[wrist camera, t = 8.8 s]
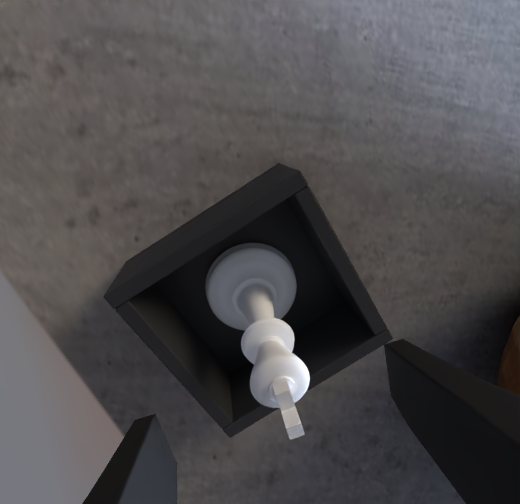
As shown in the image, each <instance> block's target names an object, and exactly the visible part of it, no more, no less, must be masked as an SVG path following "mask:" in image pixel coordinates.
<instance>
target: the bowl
mask: <svg viewBox="0 0 520 504" xmlns="http://www.w3.org/2000/svg"><path fill="white" fill-rule="evenodd" d="M497 386H499V387H501V388H503V389H506V390H508V391H510V392H512V393H515V394H517V395H520V316H519V317H518V319H517V321H516V322H515V324H514V326H513V328H512V330H511V333H510V335H509V338H508V341H507V343H506V346H505V349H504V351H503V354H502V359H501V365H500V371H499V376H498V385H497Z"/></svg>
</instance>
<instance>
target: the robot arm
mask: <svg viewBox="0 0 520 504" xmlns="http://www.w3.org/2000/svg"><path fill="white" fill-rule="evenodd" d="M384 347H385V355H386V362H387V370H388V377H389V385H390V392H391V397H392V399H393V400H394V402H395V404H396V406H397V407H398V409H399V411H400V413H401V414H402V416H403V418H404V419H405V421H406V423H407V424H408V426H409V428H410V429H411V430H412V432H413V433H414V434H415V436H416V437H417V439H418V440H419V441H420V443H421V444H422V445H423V447H424V448H425V449H426V451H427V452H428V453H429V455H430V456H431V457H432V459H433V460H434V461H435V463H436V464H437V465H438V467H439V468H440V469H441V471H442V472H443V473H444V475H445V476H446V477H447V479H448V480H449V481H450V483H451V484H452V485H453V487H454V488H455V489H456V491H457V492H458V493H459V495H460V496H461V497H462V499H463V500H464V502H465V503H466V504H520V395H517V394H515V393H512V392H510V391H508V390H506V389H503V388H501V387H499V386H496V385H494V384H492V383H490V382H487V381H485V380H483V379H481V378H479V377H477V376H474V375H472V374H470V373H468V372H466V371H464V370H462V369H460V368H458V367H456V366H454V365H452V364H450V363H448V362H446V361H444V360H442V359H440V358H438V357H436V356H434V355H433V354H431V353H429V352H427V351H425V350H423V349H421V348H419V347H417V346H415V345H414V344H412V343H410V342H408V341H406V340H404V339H401V340H398V341H394V342H391V343H388V344H385V345H384ZM83 504H177V462H176V460H175V458H174V455H173V453H172V451H171V449H170V446H169V444H168V442H167V440H166V437H165V435H164V433H163V430H162V428H161V426H160V424H159V421H158V419H157V417H156V415H155V414H153V415H150V416H147V417H143V418H140V419H137V420H135V421H134V422H133V424H132V426H131V427H130V429H129V430H128V432H127V434H126V435H125V437H124V439H123V440H122V442H121V444H120V445H119V447H118V448H117V450H116V452H115V453H114V455H113V457H112V458H111V460H110V461H109V463H108V465H107V467H106V468H105V470H104V471H103V473H102V474H101V476H100V477H99V479H98V481H97V482H96V484H95V485H94V487H93V488H92V490H91V492H90V493H89V495H88V496H87V498H86V499H85V501H84V502H83Z"/></svg>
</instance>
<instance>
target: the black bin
mask: <svg viewBox="0 0 520 504" xmlns="http://www.w3.org/2000/svg"><path fill="white" fill-rule="evenodd" d="M307 185H308V183H307V182H306V180H305V178H304V176H303V174H302V172H301V171H299V170H296V169H294V168H291V167H288V166H285V165H282V164H280V163H278V164H277V165H275V166H273V167H272V168H270V169H269V170H267V171H266V172H264V173H263V174H261V175H260V176H258V177H256V178H255V179H253V180H252V181H250V182H249V183H247V184H246V185H244V186H243V187H241V188H239V189H238V190H236V191H235V192H233V193H232V194H230V195H229V196H227V197H225V198H224V199H222V200H221V201H219V202H218V203H216V204H215V205H213V206H212V207H210V208H208V209H207V210H205V211H204V212H202V213H201V214H199V215H198V216H196V217H195V218H193V219H191V220H190V221H188V222H187V223H185V224H184V225H182V226H181V227H179V228H177V229H176V230H174V231H173V232H171V233H170V234H168V235H167V236H165V237H164V238H162V239H160V240H159V241H157V242H156V243H154V244H153V245H151V246H150V247H148V248H146V249H145V250H143V251H142V252H140V253H139V254H137V255H136V256H134V257H133V258H131V259H129V260H128V261H126V263H125V265H124V266H123V268H122V269H121V271H120V272H119V274H118V276H117V277H116V279H115V280H114V282H113V283H112V285H111V286H110V288H109V289H108V291H107V293H106V294H105V296H104V298H105V300H106V301H107V302H108V303H109V304H110V305H111V306H112V307H113V308H114V309H115V308H116V309H115V310H116V312H117V313H118V314H119V315H120V316H121V317H122V318H123V319H124V320H125V322H126V323H127V324H128V325H129V326H130V327H131V328H132V329H133V330H134V332H135V333H136V334H137V335H138V336H139V337H140V338H141V339H142V340H143V342H144V343H145V344H146V345H147V346H148V347H149V348H150V349H151V350H152V351H153V353H154V354H155V355H156V356H157V357H158V358H159V359H160V360H161V361H162V363H163V364H164V365H165V366H166V367H167V368H168V369H169V370H170V371H171V373H172V374H173V375H174V376H175V377H176V378H177V379H178V380H179V381H180V383H181V384H182V385H183V386H184V387H185V388H186V389H187V390H188V391H189V393H190V394H191V395H192V396H193V397H194V398H195V399H196V400H197V401H198V403H199V404H200V405H201V406H202V407H203V408H204V409H205V410H206V411H207V413H208V414H209V415H210V416H211V417H212V418H213V419H214V420H215V421H216V423H217V424H218V425H219V426H220V427H221V428H222V429H223V431H224V432H225V433H226V434H227V435H228V436H229V437H232V436H234V435H235V434H237V433H239V432H240V431H242V430H244V429H245V428H247V427H249V426H250V425H252V424H254V423H255V422H257V421H259V420H260V419H262V418H263V417H265V416H267V415H268V414H270V413H272V412H273V411H275V410H277V409H278V408H271V407H267V406H264V405H262V404H261V403H259V402H258V401H257V400H256V399H255V398H254V396H253V395H252V393H251V390H250V377H251V373H252V369H253V367H254V364H252V363H251V362H250V361H249V360H248V359H247V358H246V357H245V355H244V354H243V351H242V348H241V339H242V336H243V334H244V332H245V330H239V329H235V328H232V327H230V326H228V325H226V324H225V323H223V322H222V321H221V320H219V319H218V318H217V317H216V315H215V314H214V313H213V311H212V309H211V308H210V305H209V302H208V300H207V297H206V291H205V283H206V277H207V274H208V271H209V269H210V267H211V265H212V264H213V262H214V261H215V260H216V259H217V258H218V257H219V256H220V255H221V254H222V253H223V252H225V251H226V250H228V249H230V248H232V247H234V246H236V245H240V244H244V243H262V244H266V245H269V246H271V247H274V248H275V249H277V250H279V251H280V252H281V253H282V254H284V255H285V256H286V258H287V259H288V260H289V262H290V263H291V265H292V267H293V270H294V273H295V277H296V283H297V290H296V296H295V299H294V302H293V304H292V306H291V308H290V309H289V311H288V312H287V313H286V315H285V316H284V317H283V318H282V319H280V320H282V321H284V322H286V323H287V324H288V325H289V326H290V327H291V329H292V331H293V333H294V339H295V340H294V348H293V351H292V353H293V354H295V355H296V356H297V357H298V358H299V359H301V360H302V361H303V363H304V364H305V365H306V367H307V369H308V371H309V375H310V382H309V386H308V389H307V391H308V390H310V389H311V388H313V387H314V386H316V385H318V384H319V383H321V382H323V381H324V380H326V379H328V378H329V377H331V376H333V375H334V374H336V373H338V372H339V371H341V370H342V369H344V368H346V367H347V366H349V365H351V364H352V363H354V362H356V361H357V360H359V359H361V358H362V357H364V356H366V355H367V354H369V353H370V352H372V351H374V350H375V349H377V348H379V347H380V346H382V345H384V344H385V343H387V342H389V341H390V340H392V339H393V337H392V336H391V334H390V332H389V330H388V329H387V327H386V325H385V323H384V321H383V319H382V318H381V316H380V314H379V312H378V310H377V309H376V307H375V305H374V303H373V301H372V300H371V298H370V296H369V294H368V292H367V290H366V289H365V287H364V285H363V283H362V281H361V280H360V278H359V276H358V274H357V272H356V270H355V269H354V267H353V265H352V263H351V261H350V260H349V258H348V256H347V254H346V252H345V251H344V249H343V247H342V245H341V243H340V241H339V240H338V238H337V236H336V234H335V232H334V231H333V229H332V227H331V225H330V223H329V222H328V220H327V218H326V216H325V214H324V212H323V211H322V209H321V207H320V205H319V203H318V202H317V200H316V198H315V196H314V194H313V193H312V191H311V189H310V187H309V186H307Z"/></svg>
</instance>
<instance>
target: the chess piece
mask: <svg viewBox="0 0 520 504" xmlns="http://www.w3.org/2000/svg"><path fill="white" fill-rule="evenodd" d="M296 290H297V283H296V277H295V273H294V270H293V267H292V265H291V263H290V262H289V260H288V259H287V258H286V256H285V255H284V254H282V253H281V252H280V251H279V250H277V249H275V248H274V247H271V246H269V245H266V244H262V243H244V244H240V245H236V246H234V247H232V248H230V249H228V250H226V251H225V252H223V253H222V254H221V255H220V256H219V257H218V258H217V259H216V260H215V261H214V262H213V264H212V265H211V267H210V269H209V271H208V274H207V277H206V283H205V291H206V297H207V300H208V302H209V305H210V308H211V309H212V311H213V313H214V314H215V315H216V317H217V318H218V319H219V320H221V321H222V322H223V323H225V324H226V325H228V326H230V327H232V328H235V329H239V330H245V332H244V334H243V336H242V339H241V348H242V351H243V354H244V355H245V357H246V358H247V359H248V360H249V361H250V362H251V363H252V364H254V367H253V369H252V373H251V377H250V390H251V393H252V395H253V396H254V398H255V399H256V400H257V401H258V402H259V403H261V404H262V405H264V406H267V407H271V408H280V410H281V412H282V416H283V420H284V423H285V427H286V430H287V433H288V436H289V439H290V440H292V439H295V438H297V437H300V436H303V435H305V434H304V430H303V427H302V424H301V421H300V418H299V415H298V412H297V409H296V407H295V404H294V403H295V402H297V401H298V400H299V399H300V398H301V397H302V396H303V395H304V394H305V392H306V391H307V389H308V386H309V382H310V375H309V371H308V369H307V367H306V365H305V364H304V363H303V361H302V360H301V359H299V358H298V357H297V356H296V355H295V354H293V353H292V351H293V348H294V340H295V339H294V333H293V331H292V329H291V327H290V326H289V325H288V324H287V323H286V322H284V321H282V320H280V319H282V318H283V317H284V316H285V315H286V313H287V312H288V311H289V309H290V308H291V306H292V304H293V302H294V299H295V296H296Z"/></svg>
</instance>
